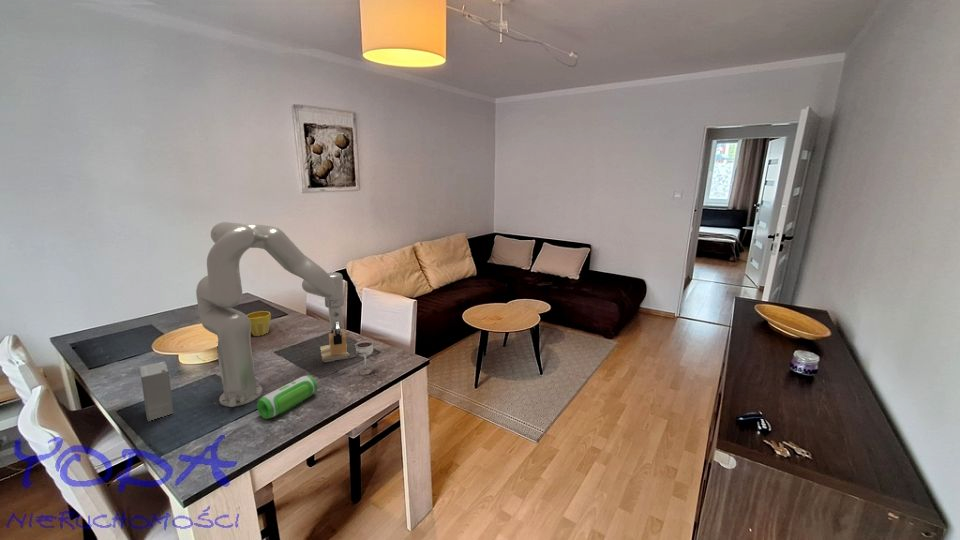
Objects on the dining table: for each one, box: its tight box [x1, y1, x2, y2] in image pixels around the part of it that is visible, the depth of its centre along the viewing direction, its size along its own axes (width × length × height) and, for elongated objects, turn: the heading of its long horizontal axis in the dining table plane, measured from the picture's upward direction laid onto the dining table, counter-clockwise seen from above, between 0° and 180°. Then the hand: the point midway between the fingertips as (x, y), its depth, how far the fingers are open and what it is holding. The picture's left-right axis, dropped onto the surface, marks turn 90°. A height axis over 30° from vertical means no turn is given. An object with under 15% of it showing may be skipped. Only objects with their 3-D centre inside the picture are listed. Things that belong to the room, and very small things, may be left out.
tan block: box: [328, 330, 347, 354], centre depth 161 cm, size 6×6×7 cm
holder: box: [319, 344, 350, 362], centre depth 161 cm, size 14×14×6 cm
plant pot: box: [245, 310, 272, 337], centre depth 179 cm, size 10×10×10 cm
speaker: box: [256, 375, 318, 420], centre depth 124 cm, size 18×7×8 cm, turn 152°
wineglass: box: [354, 339, 374, 369], centre depth 146 cm, size 7×7×12 cm
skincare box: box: [139, 360, 174, 422], centre depth 117 cm, size 8×7×16 cm
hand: (336, 339), depth 160 cm, fingers open, 9 cm apart
